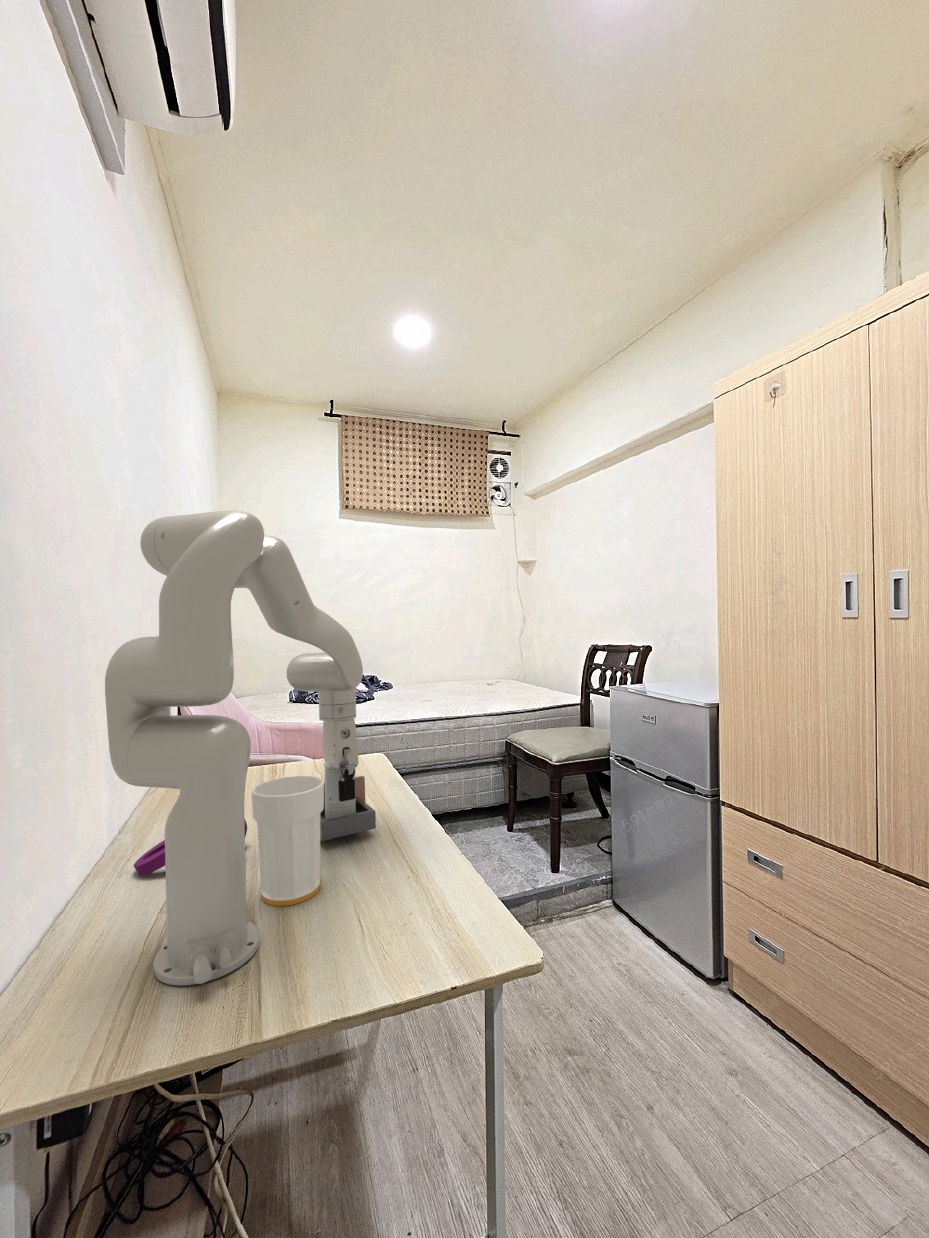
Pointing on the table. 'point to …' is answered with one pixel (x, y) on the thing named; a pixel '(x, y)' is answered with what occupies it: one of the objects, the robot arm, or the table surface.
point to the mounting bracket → (155, 858)
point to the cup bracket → (349, 816)
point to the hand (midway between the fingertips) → (339, 793)
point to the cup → (289, 837)
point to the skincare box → (335, 795)
